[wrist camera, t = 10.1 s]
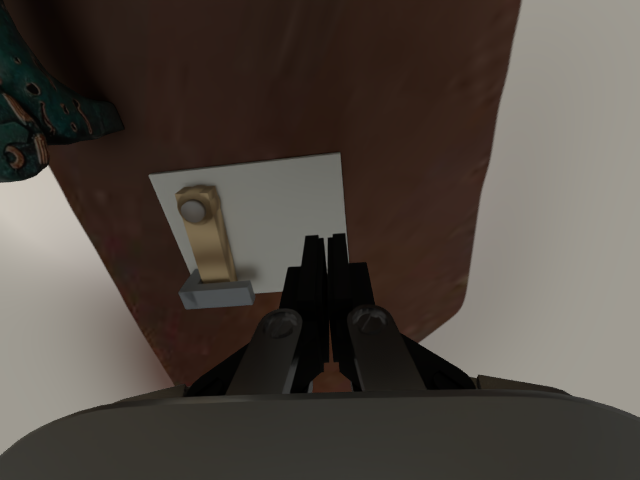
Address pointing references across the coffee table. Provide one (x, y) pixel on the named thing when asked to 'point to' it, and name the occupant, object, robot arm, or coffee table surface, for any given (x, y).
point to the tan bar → (206, 233)
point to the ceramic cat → (40, 109)
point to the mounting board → (258, 220)
